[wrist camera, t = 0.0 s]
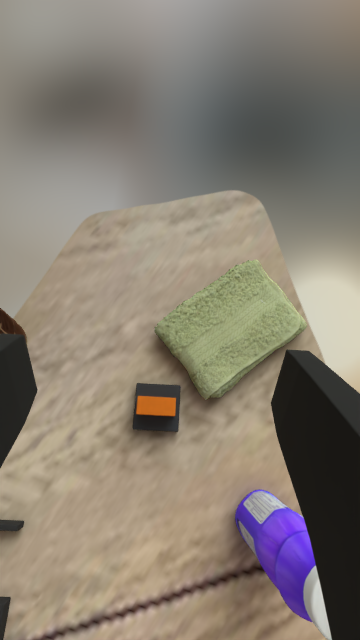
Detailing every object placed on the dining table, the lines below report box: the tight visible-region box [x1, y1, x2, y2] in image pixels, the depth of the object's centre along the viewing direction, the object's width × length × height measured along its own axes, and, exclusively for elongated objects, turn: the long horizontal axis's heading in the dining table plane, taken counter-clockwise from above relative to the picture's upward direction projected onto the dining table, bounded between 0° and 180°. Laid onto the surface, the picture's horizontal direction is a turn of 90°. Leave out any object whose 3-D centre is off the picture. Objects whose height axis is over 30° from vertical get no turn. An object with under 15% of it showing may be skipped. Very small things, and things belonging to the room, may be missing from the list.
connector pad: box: [133, 383, 180, 432], centre depth 38 cm, size 5×5×4 cm
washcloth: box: [155, 260, 307, 400], centre depth 42 cm, size 13×18×3 cm
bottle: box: [235, 490, 332, 640], centre depth 28 cm, size 7×6×17 cm
